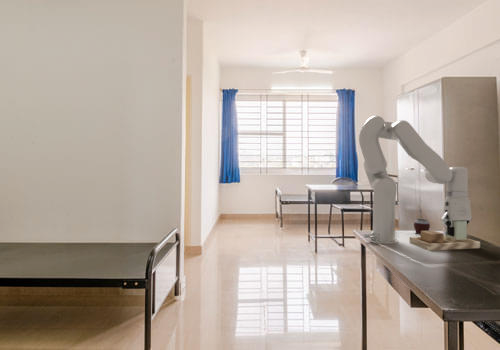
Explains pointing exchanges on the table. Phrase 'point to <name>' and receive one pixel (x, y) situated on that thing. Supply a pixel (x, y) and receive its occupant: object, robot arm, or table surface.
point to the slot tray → (446, 244)
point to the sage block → (459, 230)
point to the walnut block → (432, 237)
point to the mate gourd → (421, 224)
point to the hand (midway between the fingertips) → (456, 234)
